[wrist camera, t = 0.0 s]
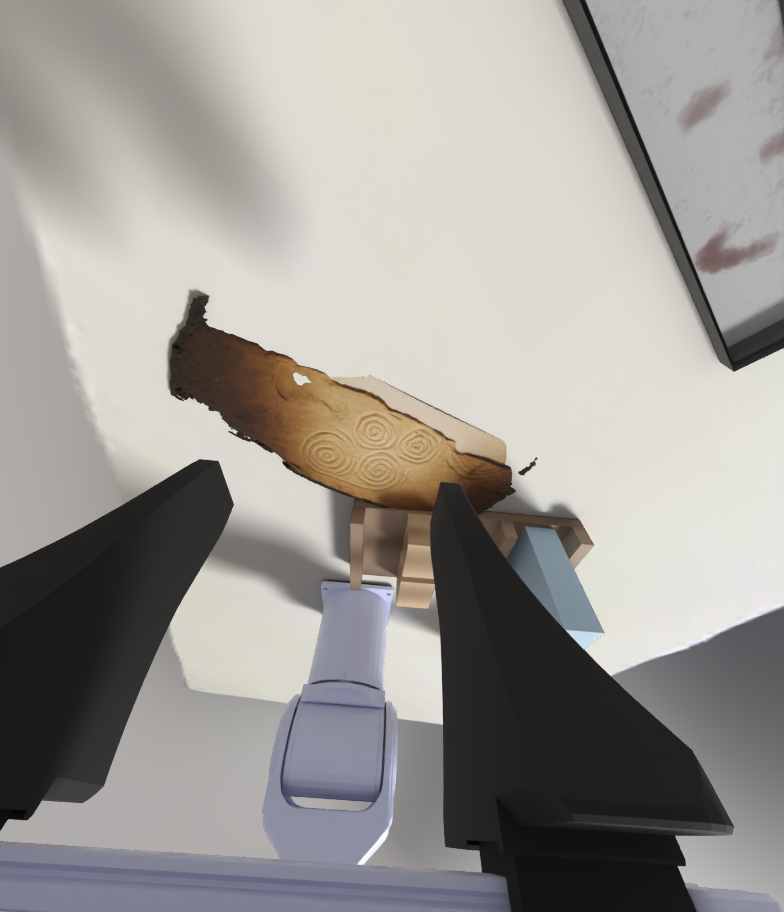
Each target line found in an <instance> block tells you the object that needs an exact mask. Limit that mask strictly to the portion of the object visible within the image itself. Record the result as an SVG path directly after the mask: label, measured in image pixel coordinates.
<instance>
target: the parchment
mask: <svg viewBox="0 0 784 912" xmlns="http://www.w3.org/2000/svg"><path fill="white" fill-rule="evenodd" d="M208 298H209V296H198V298H193V302H192V304H191V309H190V310H189V316H188V319H187V321H186V326H185V327H184V328H183V329H181V330H180V331H179V336H178V338H177V339H176V341H175V342H174V343H173V344H172V355H171V358H170V369H171V380H170V386H171V395H173V396H175V397H176V398H177V399H179V400H182V401H184V400H187V399H188V398H189V397H190V398H191V399H193V398H195V399H196V401H197V402H199V403H200V404H201V403H204V404H205V405H207V406H209V408H208V409H209V411H218V412H220V413H221V414H220V415H221V416H222V417H223V418H222V419H223V420H224V421H225V422H226V423H227V424H228V425H229V427H231V429H235V430H236V431H238V433H237V435H236V434H234V433H233V432H230V431H228V432H229V433H231V434H233V435H235V436H237V437H239V438H241V439H243V440H246V441H249V442H250V441H252V442H255V443H256V444H258V445H259V446H261V447H262V448H264V449H265V450H267V451H269V452H270V453H272V452H275V453H276V454H278V455H279V456H280V457H281V458H282V459H283V460H285V461H286V462H283V461H282V463H283V464H284V465H285V466H286V468H287V469H289V470H291V471H293V472H294V473H296V474H297V475H300V476H301V477H304V478H306V479H308V480H309V481H312V482H314V483H316V484H319V485H320V486H323V487H325V488H328V489H331V490H334V491H336V492H338V493H341V494H344V495H347V496H349V497H353V498H355V499H358V500H361V501H364V502H366V503H370V504H374V505H376V506H380V507H382V508H396V509H404V510H418V511H433V509H434V505H435V501H436V497H437V494H438V490H439V486H440V482H447V483H457V484H460V485H461V487H462V489H463V490H464V492H465V494H466V496H467V498H468V499H469V501H470V503H471V505H472V506H473V508H474V510H475V512H476V513H477V515H479V514H480V513H482V512H483V511H484V510H486V509H488V508H491V507H492V506H493V505H494V504H496V503H497V502H498V501H501V500H503V499H504V498H505V497H506V495H508V496H509V495H511V494H513V493H514V492H515V491H516V490H515V489H513V488H511V487H510V485H512V483H511V481H512V472H511V471H512V470H511V468H510V467H509V466H507V465H504V464H505V461H506V457H507V456H506V445H505V443H504V441H502V440H500V439H498V438H496V437H494V436H492V435H490V434H488V433H485V432H483V431H481V430H478V429H477V428H475V427H473V426H470V425H468V424H466V423H464V422H461V421H460V420H458V419H454V418H453V417H451V416H449V415H447V414H445V413H443V412H441V411H439V410H436V409H435V408H433V407H431V406H428V405H427V404H424V403H422V402H420V401H419V400H416V399H415V398H413V397H411V396H409V395H407V394H405V393H403V392H401V391H399V390H397V389H396V388H394V387H391V386H390V385H388V384H386V383H384V382H382V381H381V380H378V379H376V378H375V377H373V376H371V375H369V376H367V377H353V378H349V377H329V376H328V375H326V373H324V372H321V371H319V370H317V369H313V368H309V367H305V366H300V365H298V364H297V362H296V361H294V360H293V359H292V358H290V357H288V356H286V355H283V354H279V353H276V352H274V351H266V350H264V349H263V348H262V347H260V346H259V345H258V344H257V343H254V342H250V341H247V340H245V339H243V338H240V337H238V336H235V335H233V334H228V333H225V332H224V331H222V330H217V329H215V328H212V327H209V326H208V325H207V324H206V322H205V321H207V319H204V318H203V315H204V313H205V312H206V311H205V307H204V306H206V304H207V303H208ZM295 372H297V373H299V374H301V375H302V376H305V375H306V376H307V378H308V379H309V380H310V381H311V382H312V383H304V384H303V385H302V386H300V385H297V383H296V382H295V380H294V377H293V373H295ZM177 395H179V396H180V397H181V398H180V397H178V396H177ZM182 398H183V399H184V400H183V399H182ZM193 400H194V399H193ZM223 423H224V422H223ZM244 436H246V437H245V438H244ZM247 436H248V437H250V438H251V439H248V438H247ZM254 439H255V440H254ZM535 460H537V457H536V458H535ZM535 460H534V462H531V463H530V466H529V467H526V468H525V469H523V470H521V471H519V474H520V476H521V475H524V474H525V473H526V472H527V471H529V470H530V469H531V468H532V466H535V465H536V463H535Z"/></svg>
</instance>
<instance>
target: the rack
mask: <svg viewBox="0 0 784 912" xmlns="http://www.w3.org/2000/svg"><path fill="white" fill-rule="evenodd" d="M408 513H411V514H422V515H432V513H433V511H418V510H404V509H396V508H382V507H380V506H376V505H374V504H370V503H366V502H364V501H361V500H356V499H355V501H354V506H353V511H352V516H351V522H350V590H360V589H361V581H362V574H365V575H377V576H388V577H397V573H398V567H399V562H400V556H401V551H402V546H403V540H404V535H405V529H406V524H407V518H408ZM478 517H479V518H480V520H481V521H482V523H483V525H484V526H485V528H486V529H487V531H488V532H489V534H490V535H491V537H492V539H493V540H494V542H495V543H496V545H497V546H498V548H499V549H500V550H501V552H502V553H503V555H504V556H505V558H506V559H507V557H508V555H509V554H510V552H511V550H512V548H513V546H514V545H515V543H516V541H517V539H518V538H519V536H520V534H521V532H522V531H523V529H524V527H525V526H527V527H538V528H549V529H555V531H556V533H557V535H558V537H559V539H560V541H561V543H562V546H563V548H564V550H565V552H566V554H567V556H568V558H569V560H570V562H571V564H572V566H573V569H575V567H576V566H577V565H578V564H579V563H580V561H581V560H582V559H583V558H584V557H585V556H586V554H587V553H588V552H589V551H590V550H591V548H592V547H593V546H594V544H593V542H592V540H591V539H590V537H589V535H588V534H587V532H586V530H585V528H584V527H583V525H582V523H581V521H580V520H574V519H563V518H552V517H542V516H531V515H520V514H509V513H498V512H487V511H483V512H482V513H480V514H479V515H478Z"/></svg>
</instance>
